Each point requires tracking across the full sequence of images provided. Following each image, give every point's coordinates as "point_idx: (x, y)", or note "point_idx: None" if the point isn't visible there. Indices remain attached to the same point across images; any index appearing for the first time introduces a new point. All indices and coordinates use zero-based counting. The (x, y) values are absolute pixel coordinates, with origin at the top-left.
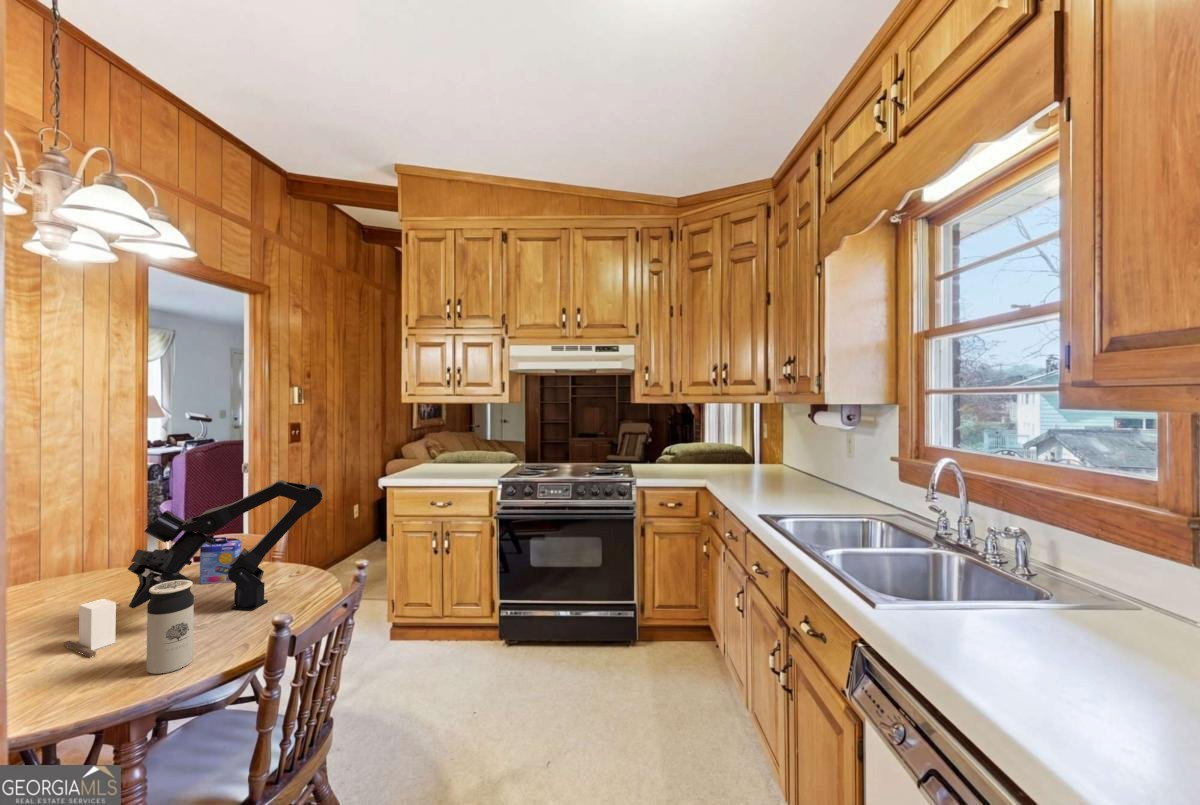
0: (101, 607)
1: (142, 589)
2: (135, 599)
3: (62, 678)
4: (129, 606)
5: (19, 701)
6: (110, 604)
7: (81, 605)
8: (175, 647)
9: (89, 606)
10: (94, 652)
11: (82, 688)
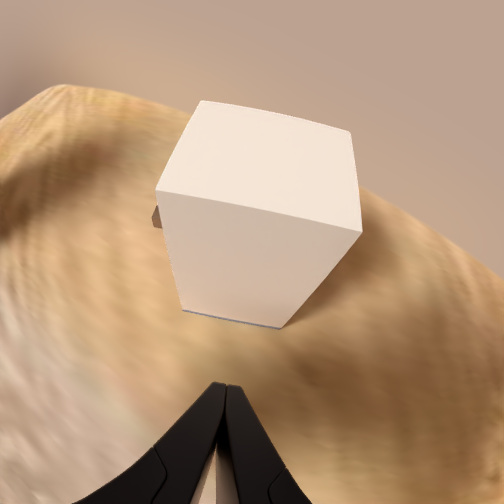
0: (187, 133)
1: (183, 490)
2: (203, 414)
3: (127, 142)
4: (230, 385)
5: (130, 96)
6: (168, 165)
7: (332, 128)
8: None
9: (268, 121)
10: (153, 215)
11: (56, 137)
